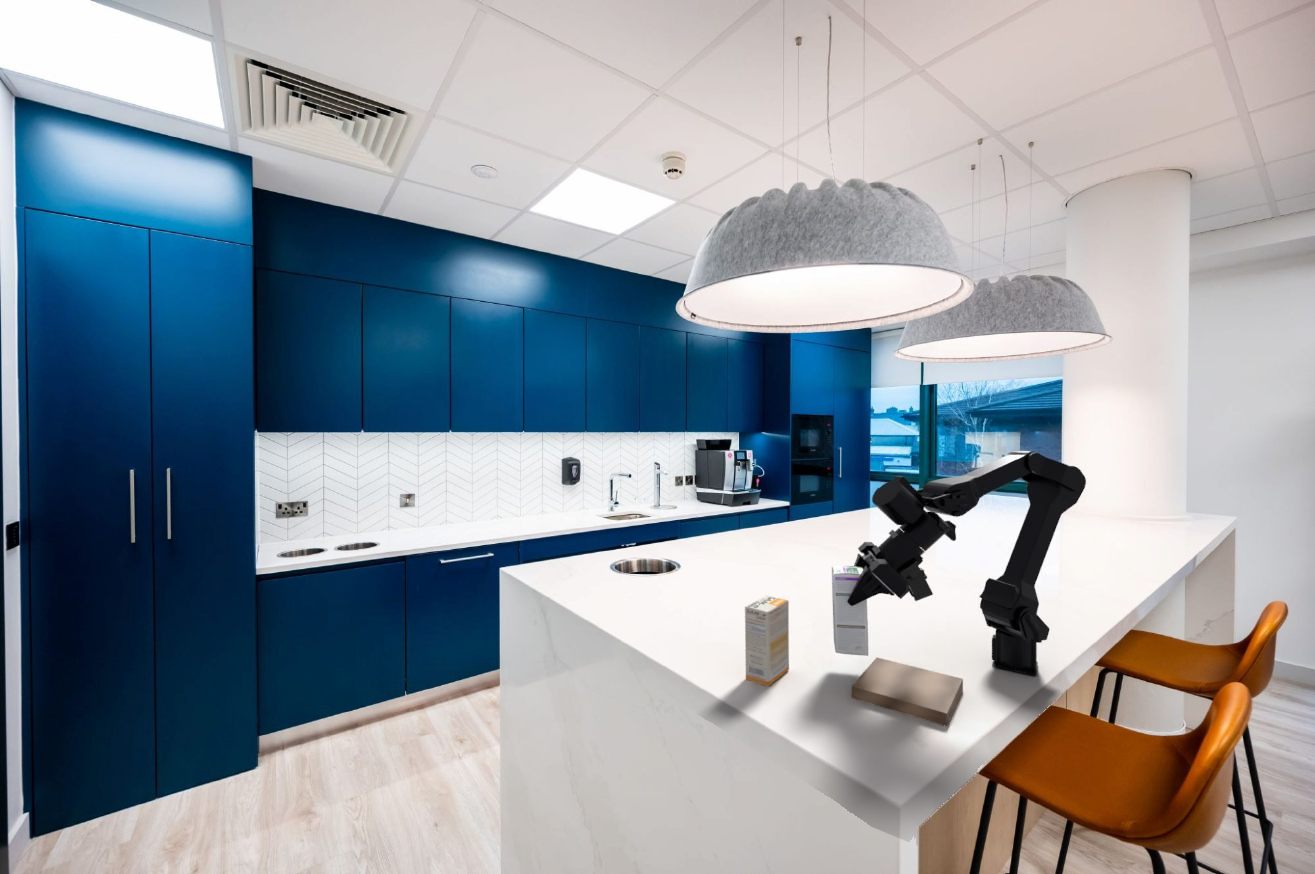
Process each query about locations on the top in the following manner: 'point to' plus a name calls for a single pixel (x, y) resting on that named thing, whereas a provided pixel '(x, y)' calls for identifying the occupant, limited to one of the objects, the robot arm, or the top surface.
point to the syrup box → (848, 613)
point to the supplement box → (767, 639)
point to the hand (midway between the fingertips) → (847, 598)
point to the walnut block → (909, 690)
